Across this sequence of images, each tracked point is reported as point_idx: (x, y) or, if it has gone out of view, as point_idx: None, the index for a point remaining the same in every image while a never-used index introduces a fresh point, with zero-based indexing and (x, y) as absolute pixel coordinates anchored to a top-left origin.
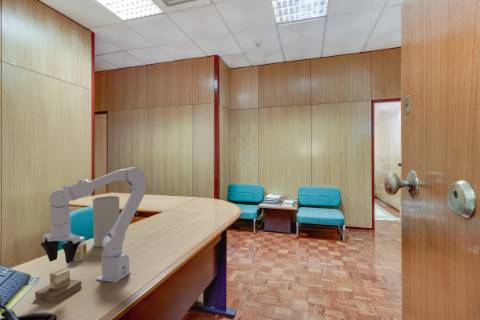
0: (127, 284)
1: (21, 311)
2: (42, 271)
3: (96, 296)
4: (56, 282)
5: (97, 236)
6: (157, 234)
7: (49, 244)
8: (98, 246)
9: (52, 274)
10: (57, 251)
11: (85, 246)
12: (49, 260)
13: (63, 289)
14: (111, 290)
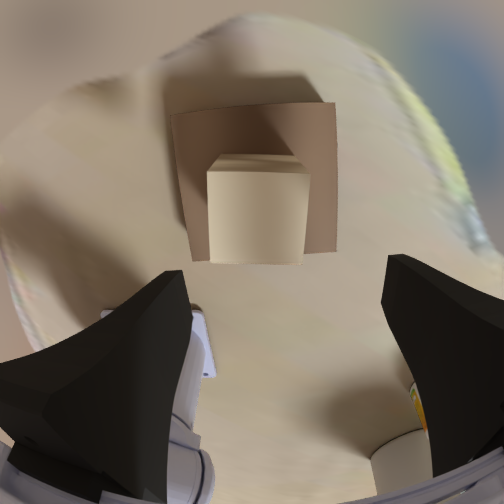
0: (64, 309)
1: (277, 22)
2: (492, 284)
3: (74, 218)
4: (226, 160)
5: (427, 458)
6: (292, 494)
7: (493, 385)
8: (415, 432)
9: (272, 171)
10: (405, 358)
11: (423, 426)
12: (407, 256)
13: (195, 169)
14: (69, 266)
